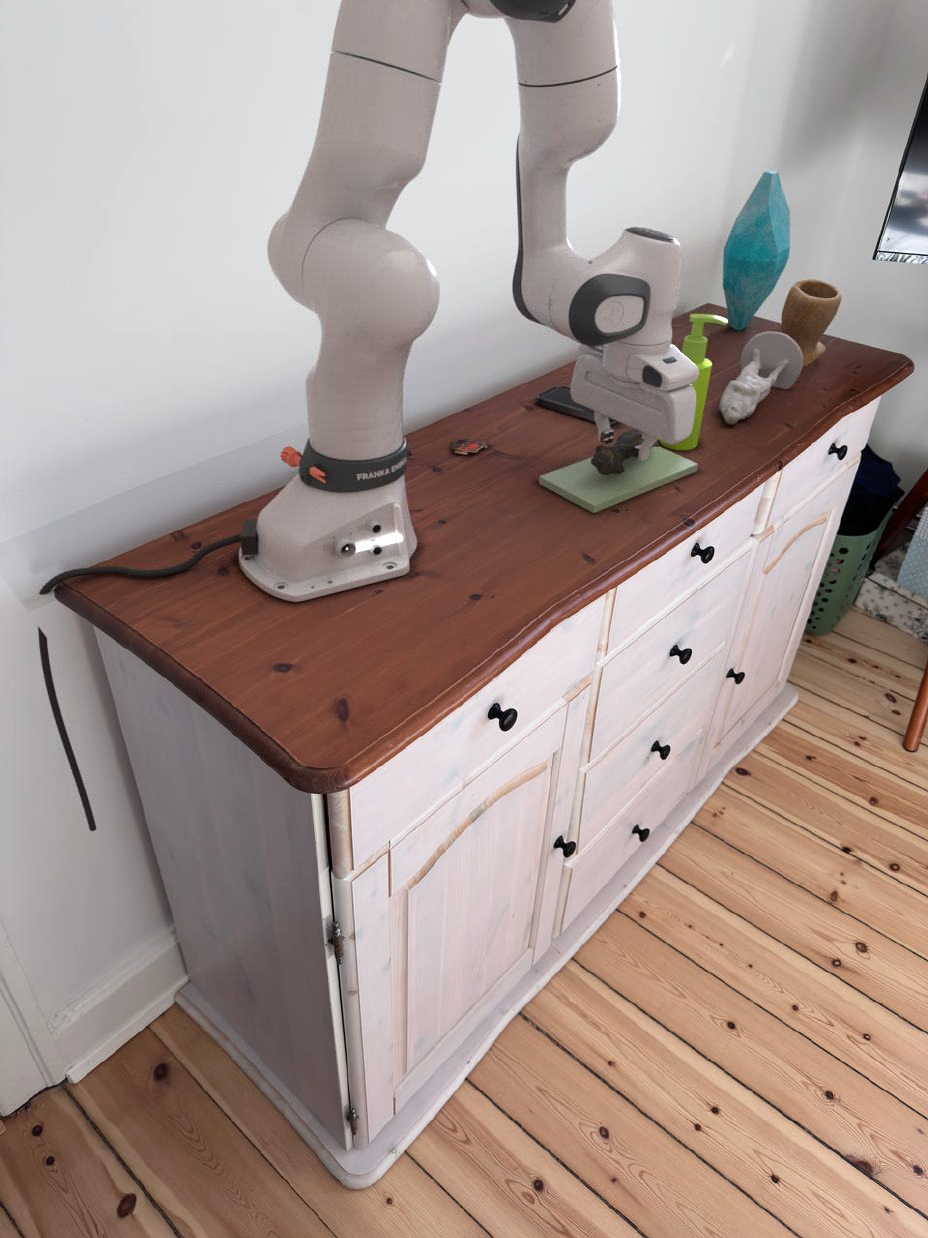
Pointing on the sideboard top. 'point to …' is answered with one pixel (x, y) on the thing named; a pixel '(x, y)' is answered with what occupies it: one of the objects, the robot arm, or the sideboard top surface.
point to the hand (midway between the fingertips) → (622, 450)
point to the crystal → (756, 250)
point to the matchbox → (467, 446)
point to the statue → (617, 453)
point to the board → (616, 479)
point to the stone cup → (809, 315)
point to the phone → (566, 403)
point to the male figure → (761, 373)
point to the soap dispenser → (696, 354)
